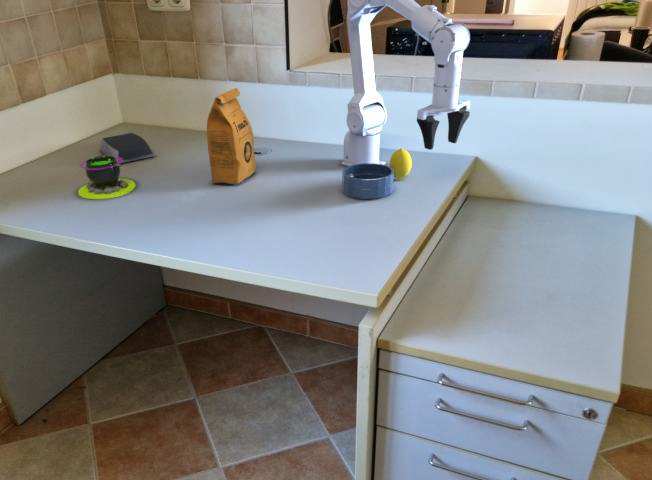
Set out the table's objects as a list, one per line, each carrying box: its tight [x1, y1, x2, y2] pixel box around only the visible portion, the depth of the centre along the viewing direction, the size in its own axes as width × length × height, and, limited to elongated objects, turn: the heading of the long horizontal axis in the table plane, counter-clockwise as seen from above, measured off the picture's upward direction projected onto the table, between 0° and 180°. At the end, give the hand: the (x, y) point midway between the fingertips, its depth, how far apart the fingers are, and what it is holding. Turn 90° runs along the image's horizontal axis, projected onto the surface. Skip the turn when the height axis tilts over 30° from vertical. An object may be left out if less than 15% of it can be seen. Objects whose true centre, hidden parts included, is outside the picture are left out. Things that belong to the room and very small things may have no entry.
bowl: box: [341, 163, 395, 200], centre depth 146 cm, size 12×12×5 cm
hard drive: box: [99, 132, 155, 164], centre depth 184 cm, size 13×19×4 cm
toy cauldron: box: [77, 144, 136, 200], centre depth 156 cm, size 15×15×11 cm
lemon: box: [388, 147, 413, 181], centre depth 151 cm, size 6×6×8 cm
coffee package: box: [206, 87, 257, 185], centre depth 154 cm, size 10×12×22 cm
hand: (440, 145), depth 143 cm, fingers open, 7 cm apart
